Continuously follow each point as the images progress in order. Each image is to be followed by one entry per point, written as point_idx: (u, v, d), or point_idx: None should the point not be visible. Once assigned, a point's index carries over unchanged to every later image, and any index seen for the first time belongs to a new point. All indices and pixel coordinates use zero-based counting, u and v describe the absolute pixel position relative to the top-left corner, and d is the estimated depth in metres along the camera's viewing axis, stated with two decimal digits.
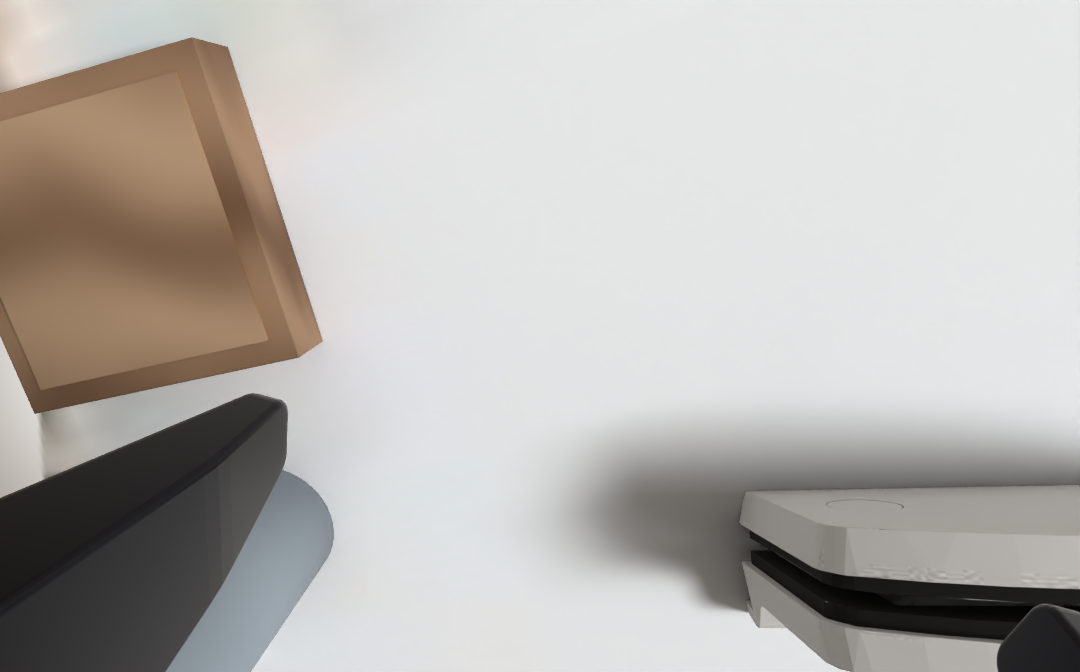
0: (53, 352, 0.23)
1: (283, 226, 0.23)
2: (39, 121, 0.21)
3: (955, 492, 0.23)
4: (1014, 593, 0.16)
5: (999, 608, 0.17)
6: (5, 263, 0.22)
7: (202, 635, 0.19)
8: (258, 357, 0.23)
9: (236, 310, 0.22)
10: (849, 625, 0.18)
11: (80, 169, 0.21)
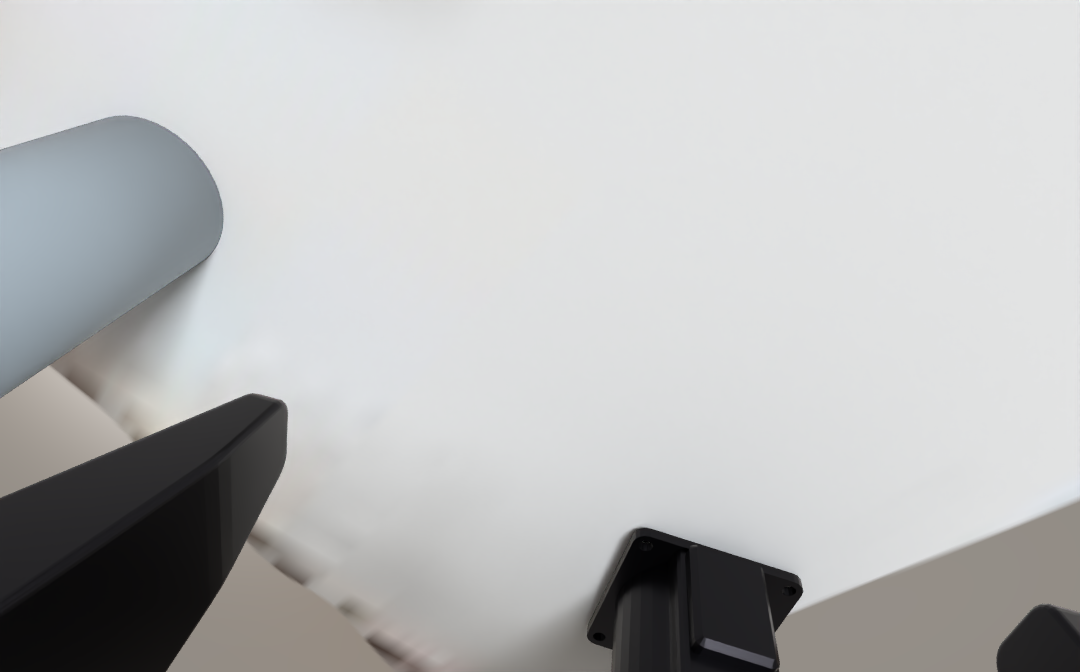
0: None
1: None
2: None
3: None
4: None
5: None
6: None
7: None
8: None
9: None
10: None
11: None
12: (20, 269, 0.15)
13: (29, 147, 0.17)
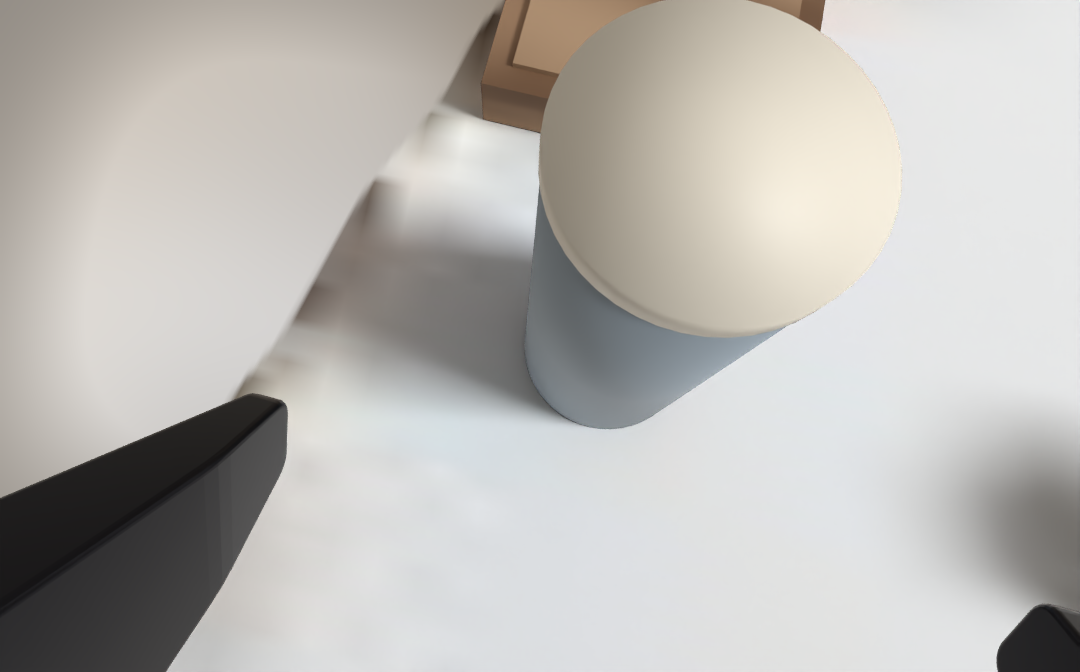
0: (553, 39, 0.21)
1: None
2: None
3: None
4: None
5: None
6: None
7: None
8: None
9: None
10: None
11: None
12: None
13: None
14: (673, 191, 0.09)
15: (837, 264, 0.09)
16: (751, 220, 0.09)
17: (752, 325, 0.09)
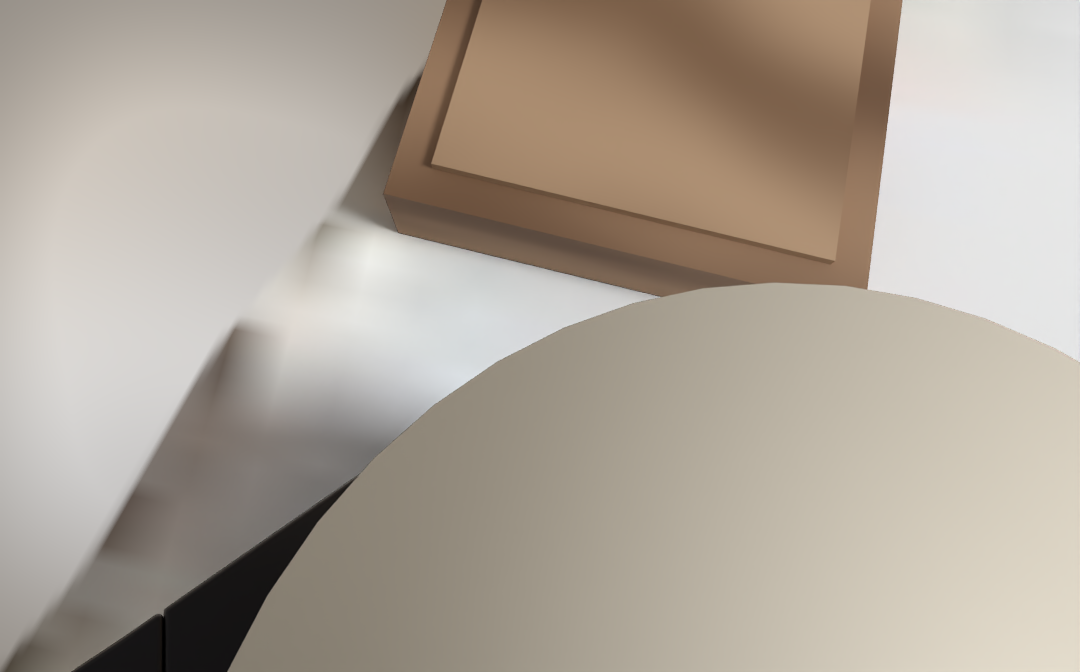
0: (494, 126, 0.14)
1: None
2: None
3: None
4: None
5: None
6: None
7: None
8: (801, 281, 0.14)
9: (813, 202, 0.14)
10: None
11: None
12: None
13: None
14: None
15: None
16: None
17: None
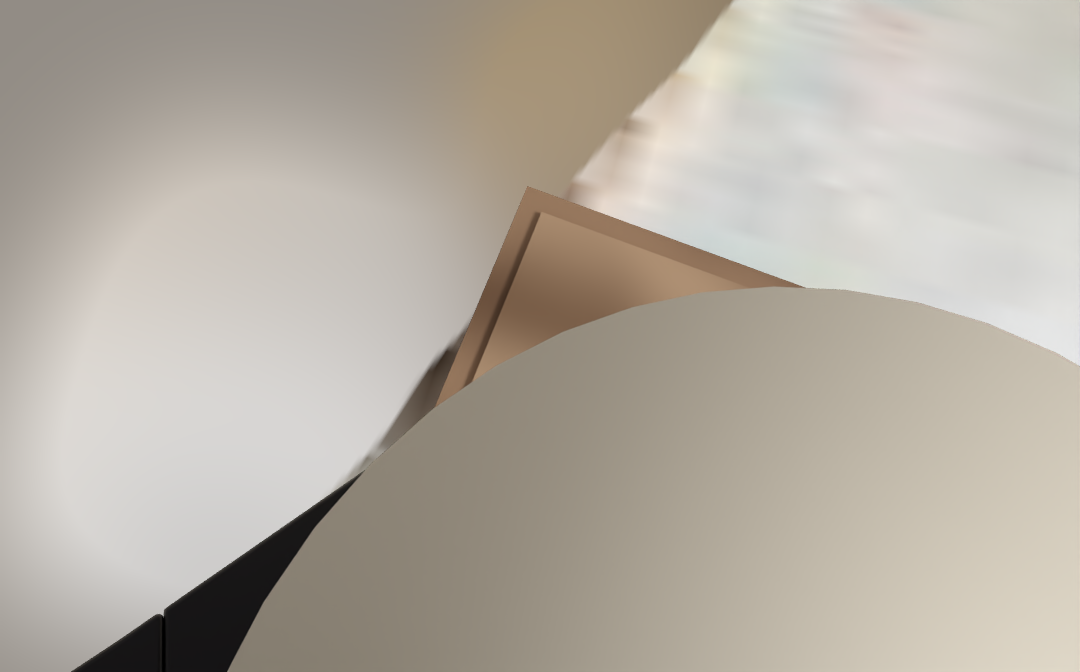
0: None
1: None
2: (643, 258, 0.23)
3: None
4: None
5: None
6: (516, 329, 0.22)
7: None
8: None
9: None
10: None
11: None
12: None
13: None
14: None
15: None
16: None
17: None
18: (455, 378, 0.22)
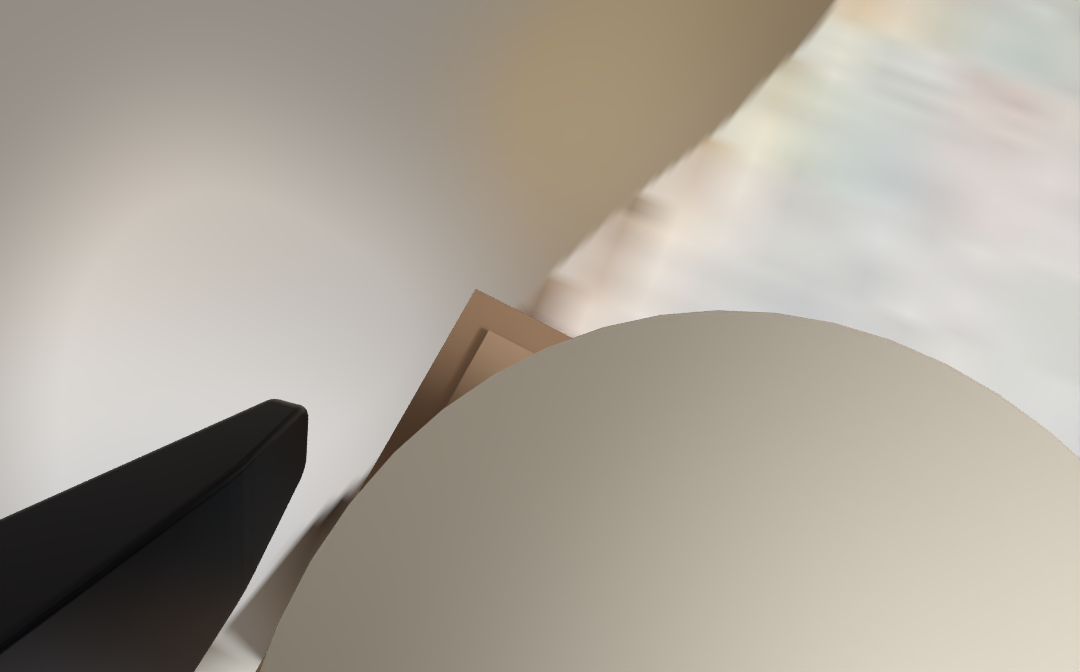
0: None
1: None
2: None
3: None
4: None
5: None
6: None
7: None
8: None
9: None
10: None
11: None
12: None
13: None
14: None
15: None
16: None
17: None
18: None
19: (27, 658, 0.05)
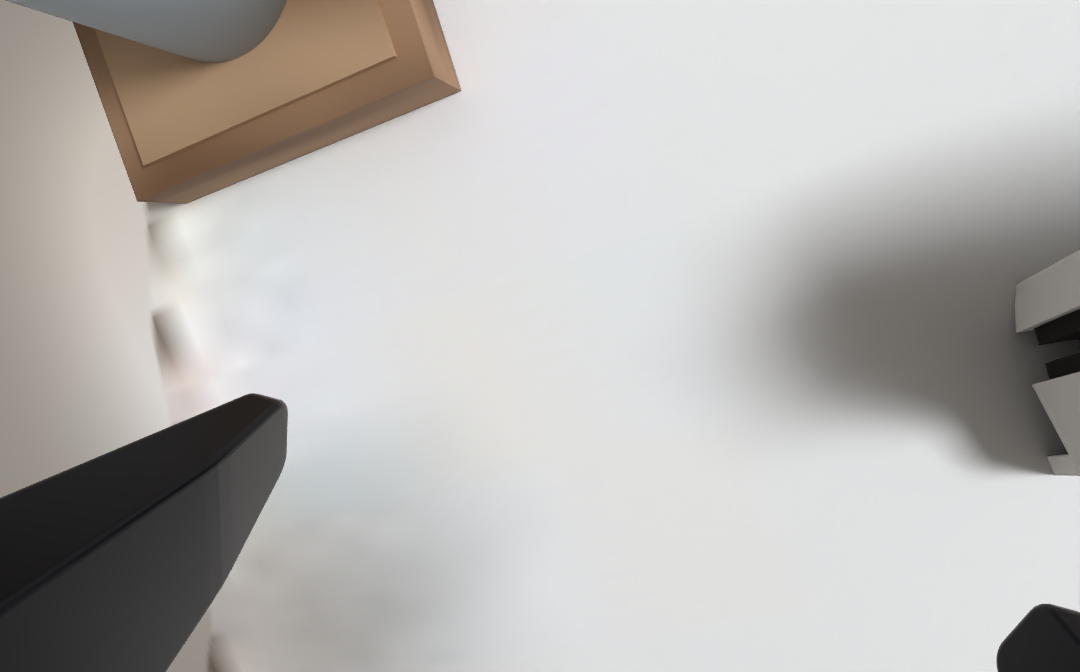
0: (156, 114, 0.20)
1: None
2: None
3: None
4: None
5: None
6: None
7: None
8: (385, 84, 0.18)
9: (359, 20, 0.18)
10: None
11: None
12: None
13: None
14: None
15: None
16: None
17: None
18: (108, 100, 0.20)
19: None
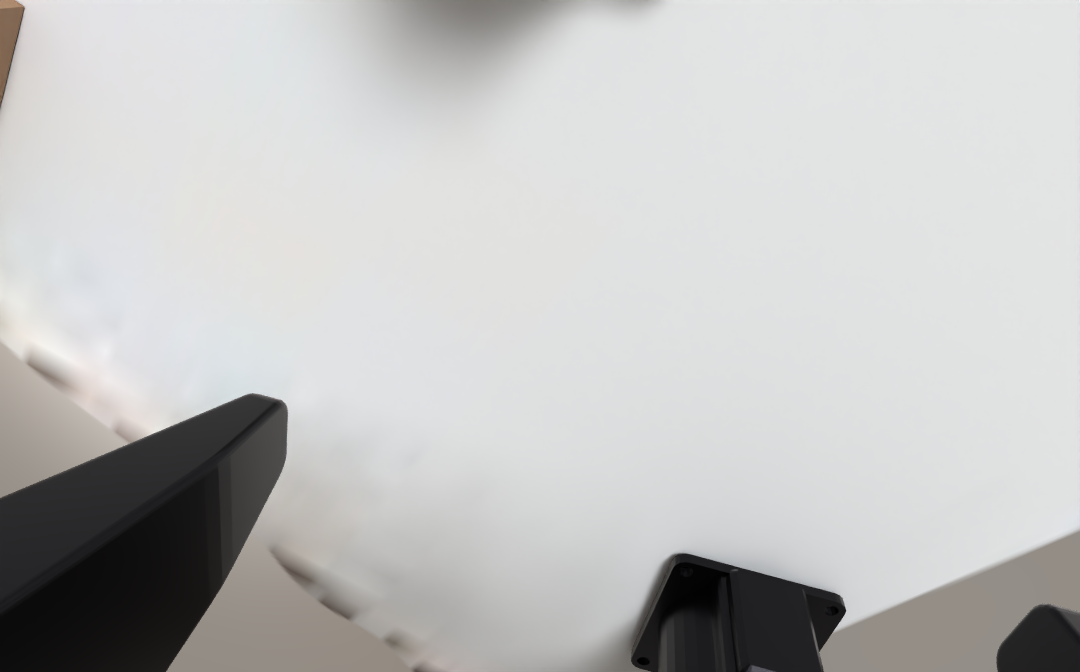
0: None
1: None
2: None
3: None
4: None
5: None
6: None
7: None
8: None
9: None
10: None
11: None
12: None
13: None
14: None
15: None
16: None
17: None
18: None
19: None
